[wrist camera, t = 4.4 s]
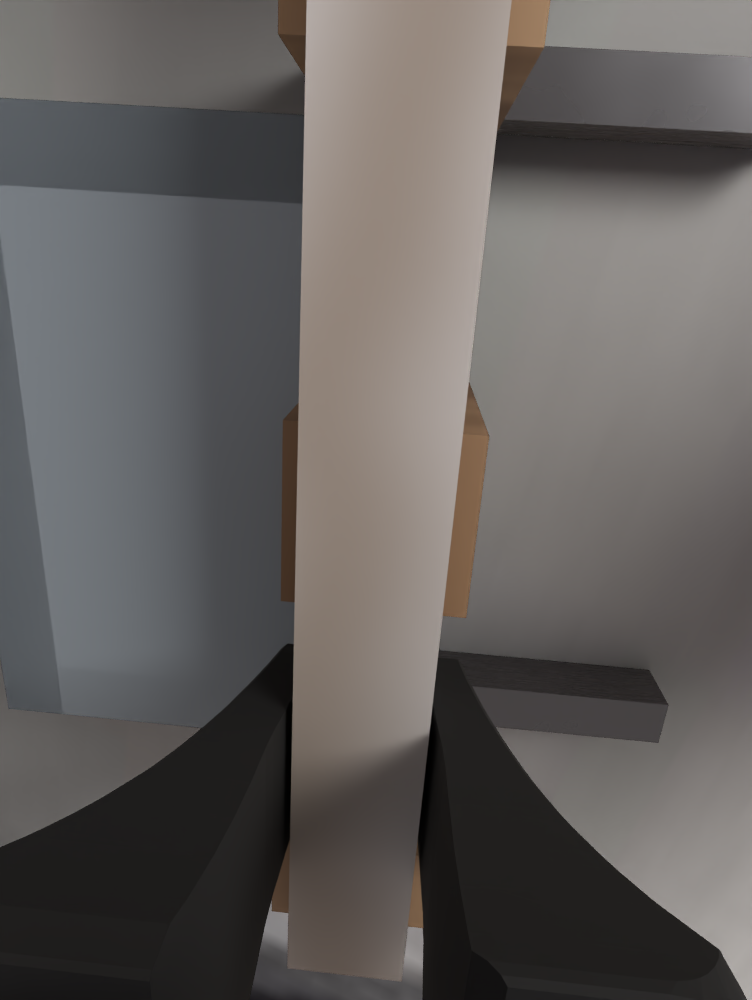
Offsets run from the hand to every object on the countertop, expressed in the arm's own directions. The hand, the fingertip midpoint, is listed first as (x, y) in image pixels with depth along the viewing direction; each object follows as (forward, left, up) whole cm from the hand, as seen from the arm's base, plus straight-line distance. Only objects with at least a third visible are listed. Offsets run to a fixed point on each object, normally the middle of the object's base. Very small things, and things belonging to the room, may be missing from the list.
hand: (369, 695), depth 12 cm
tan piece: (-2, -4, -5) cm, 7 cm away
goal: (+2, -5, -5) cm, 8 cm away
